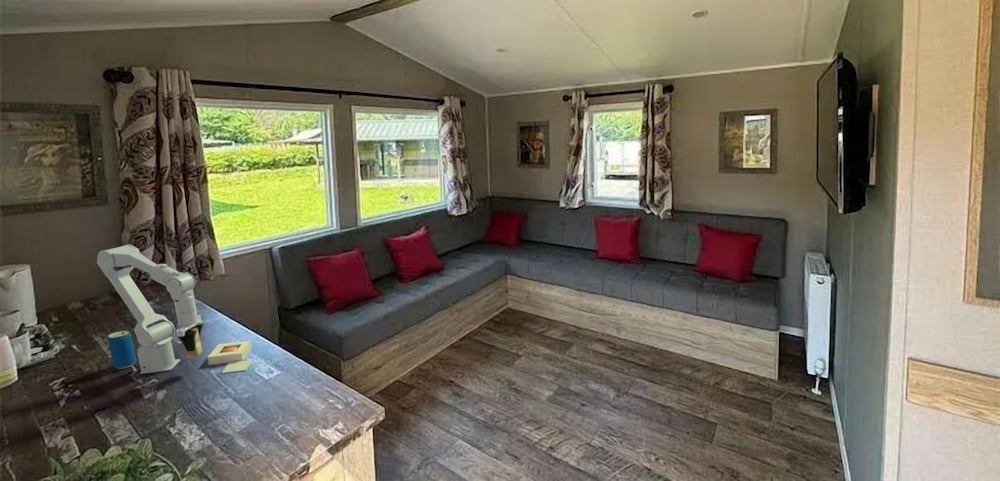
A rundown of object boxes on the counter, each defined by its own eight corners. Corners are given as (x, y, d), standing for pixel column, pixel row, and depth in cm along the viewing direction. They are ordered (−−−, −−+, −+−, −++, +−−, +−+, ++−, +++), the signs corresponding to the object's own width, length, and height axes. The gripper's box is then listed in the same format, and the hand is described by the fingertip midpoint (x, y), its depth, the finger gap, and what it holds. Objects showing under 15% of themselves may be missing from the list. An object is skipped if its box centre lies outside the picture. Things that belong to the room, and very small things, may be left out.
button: (220, 357, 171) (220, 353, 171) (225, 351, 176) (225, 347, 176) (236, 355, 172) (235, 351, 172) (240, 349, 177) (239, 345, 177)
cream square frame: (208, 365, 168) (207, 357, 168) (220, 351, 179) (218, 344, 178) (243, 361, 170) (241, 353, 170) (252, 347, 181) (250, 340, 180)
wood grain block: (186, 357, 162) (181, 332, 160) (191, 353, 165) (186, 328, 163) (198, 356, 162) (193, 331, 160) (202, 352, 166) (197, 327, 164)
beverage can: (141, 362, 172) (134, 331, 170) (122, 371, 166) (115, 338, 164) (128, 360, 174) (121, 329, 172) (109, 368, 168) (102, 336, 166)
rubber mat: (221, 373, 162) (221, 372, 161) (229, 363, 169) (229, 362, 169) (246, 370, 163) (245, 369, 163) (252, 360, 170) (252, 359, 170)
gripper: (190, 316, 154) (197, 356, 157) (207, 301, 168) (214, 338, 171) (165, 319, 153) (173, 358, 156) (185, 303, 166) (192, 340, 169)
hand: (193, 348), depth 163 cm, fingers closed on wood grain block, 3 cm apart
